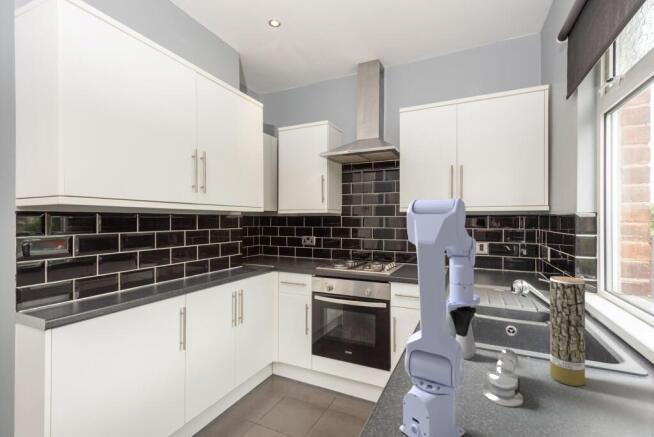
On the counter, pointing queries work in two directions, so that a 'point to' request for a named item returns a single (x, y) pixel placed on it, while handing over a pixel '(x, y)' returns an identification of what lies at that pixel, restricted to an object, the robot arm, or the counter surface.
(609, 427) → the counter surface
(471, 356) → the salt shaker
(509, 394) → the duct stub
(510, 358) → the elbow
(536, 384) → the counter surface
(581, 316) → the paper tube
